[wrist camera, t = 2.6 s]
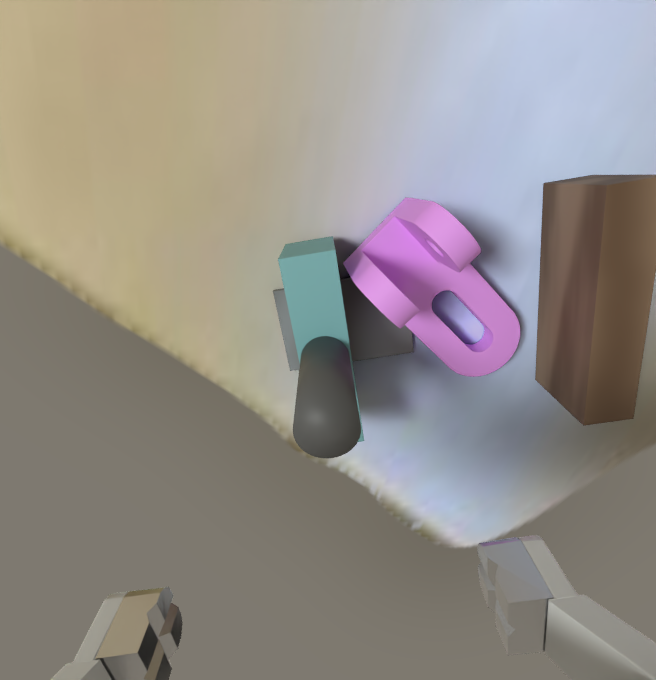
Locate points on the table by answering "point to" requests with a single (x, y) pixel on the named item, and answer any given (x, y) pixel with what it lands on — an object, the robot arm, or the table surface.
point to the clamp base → (562, 297)
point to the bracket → (433, 284)
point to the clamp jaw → (320, 350)
